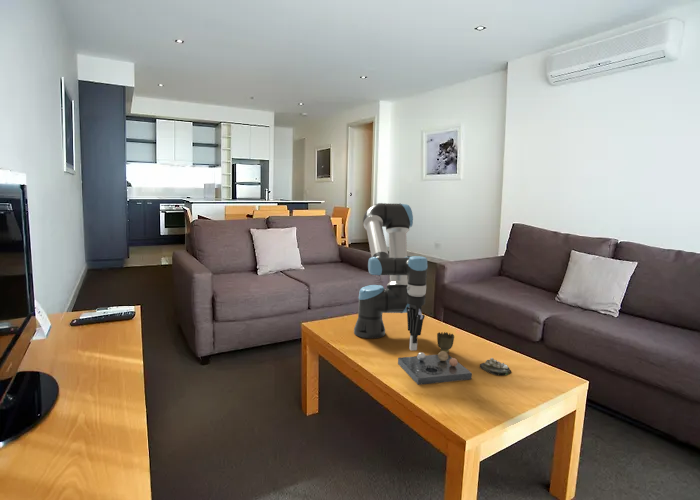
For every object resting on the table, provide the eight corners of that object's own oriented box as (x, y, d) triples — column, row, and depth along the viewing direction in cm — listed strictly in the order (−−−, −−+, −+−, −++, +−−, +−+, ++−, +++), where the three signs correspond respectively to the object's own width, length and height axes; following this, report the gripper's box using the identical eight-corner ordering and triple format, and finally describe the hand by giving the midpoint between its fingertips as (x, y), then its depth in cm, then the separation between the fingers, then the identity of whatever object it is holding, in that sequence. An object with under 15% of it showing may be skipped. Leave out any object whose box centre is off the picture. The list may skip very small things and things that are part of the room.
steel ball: (415, 359, 169) (415, 351, 169) (423, 358, 170) (423, 350, 170) (419, 362, 166) (419, 354, 166) (426, 362, 167) (427, 353, 167)
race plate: (397, 363, 171) (398, 357, 170) (446, 359, 177) (447, 353, 176) (417, 384, 153) (418, 378, 152) (471, 379, 159) (472, 373, 158)
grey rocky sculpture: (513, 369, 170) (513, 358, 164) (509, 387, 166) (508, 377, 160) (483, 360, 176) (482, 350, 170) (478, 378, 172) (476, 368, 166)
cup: (453, 356, 180) (454, 338, 179) (435, 354, 182) (437, 336, 181) (452, 349, 188) (454, 332, 186) (436, 348, 189) (437, 331, 188)
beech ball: (435, 359, 170) (436, 349, 170) (444, 358, 171) (445, 349, 171) (440, 363, 166) (441, 353, 166) (449, 362, 167) (450, 352, 167)
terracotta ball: (447, 364, 165) (447, 357, 165) (454, 364, 166) (455, 356, 165) (451, 368, 162) (452, 360, 162) (458, 367, 163) (459, 359, 162)
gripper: (401, 290, 178) (398, 344, 181) (414, 298, 165) (411, 356, 168) (417, 290, 180) (414, 343, 183) (431, 298, 167) (428, 354, 170)
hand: (413, 349), depth 176 cm, fingers closed
